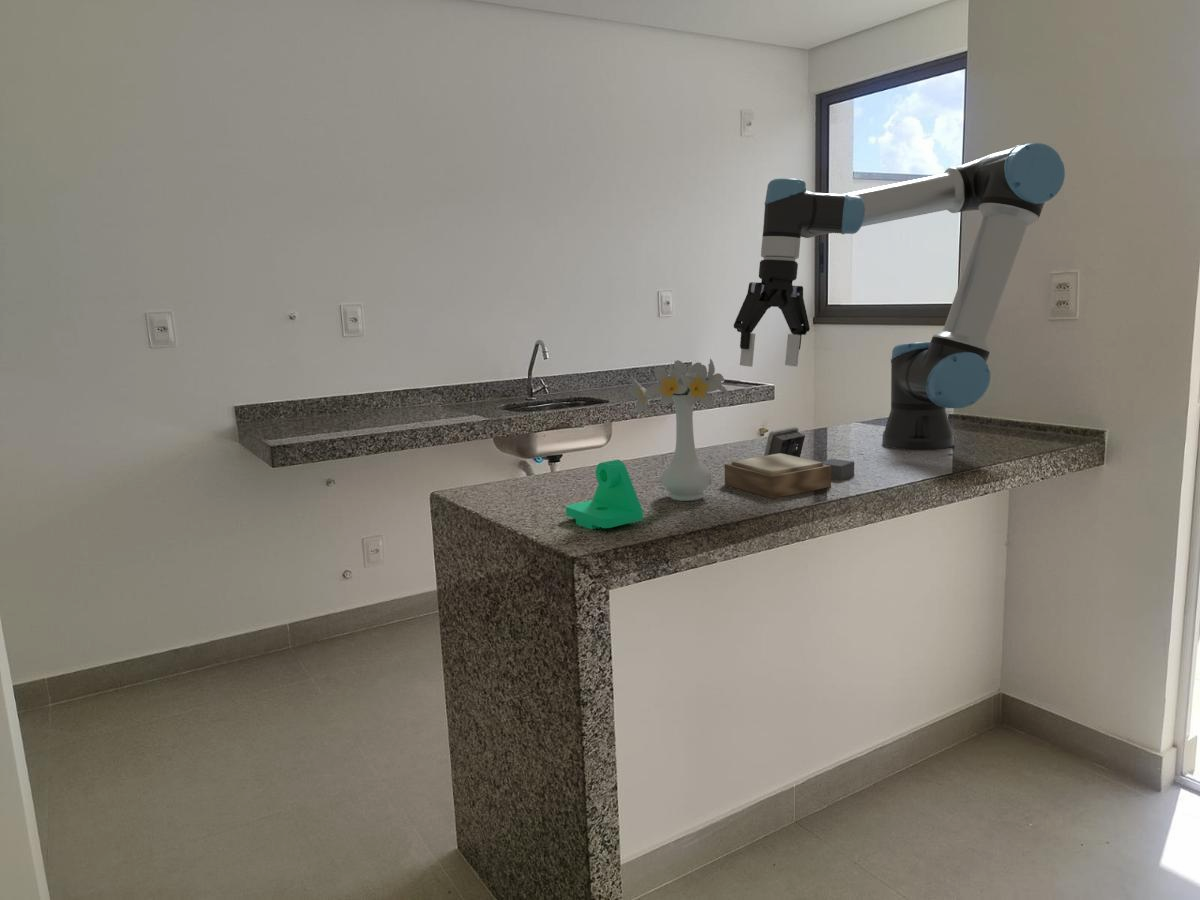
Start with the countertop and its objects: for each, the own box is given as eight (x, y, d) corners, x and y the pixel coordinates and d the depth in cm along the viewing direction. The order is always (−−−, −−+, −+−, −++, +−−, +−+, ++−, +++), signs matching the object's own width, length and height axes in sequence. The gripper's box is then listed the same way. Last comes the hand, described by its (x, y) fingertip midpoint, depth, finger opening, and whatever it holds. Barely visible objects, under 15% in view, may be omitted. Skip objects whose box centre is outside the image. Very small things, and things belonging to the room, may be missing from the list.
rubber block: (831, 473, 172) (831, 458, 172) (854, 476, 169) (854, 461, 168) (818, 478, 169) (818, 463, 168) (841, 481, 166) (841, 466, 165)
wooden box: (781, 474, 173) (781, 451, 172) (831, 486, 161) (831, 462, 160) (724, 484, 166) (724, 461, 165) (772, 498, 154) (771, 473, 153)
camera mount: (564, 521, 146) (560, 461, 145) (600, 512, 151) (598, 455, 149) (605, 535, 137) (602, 472, 135) (643, 526, 141) (640, 464, 139)
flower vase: (623, 499, 159) (617, 363, 154) (705, 484, 167) (702, 355, 162) (661, 513, 147) (656, 367, 143) (747, 497, 156) (745, 358, 151)
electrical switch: (788, 462, 184) (790, 424, 181) (805, 467, 180) (808, 429, 178) (761, 469, 179) (763, 430, 177) (777, 474, 175) (780, 435, 173)
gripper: (804, 263, 183) (794, 363, 187) (721, 254, 168) (712, 364, 171) (833, 264, 177) (822, 367, 181) (750, 255, 162) (740, 367, 166)
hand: (769, 366), depth 176 cm, fingers open, 13 cm apart
